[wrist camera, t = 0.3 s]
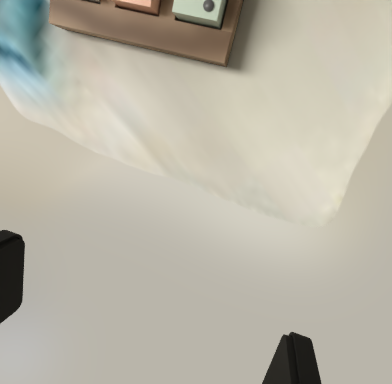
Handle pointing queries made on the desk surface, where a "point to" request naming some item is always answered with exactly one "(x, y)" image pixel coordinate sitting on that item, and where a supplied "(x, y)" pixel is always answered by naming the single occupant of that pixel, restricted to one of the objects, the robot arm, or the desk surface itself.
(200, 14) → the button three dots
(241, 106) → the desk surface
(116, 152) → the desk surface
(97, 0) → the button one dot
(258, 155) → the desk surface
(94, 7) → the button board
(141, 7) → the button two dots
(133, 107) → the desk surface
